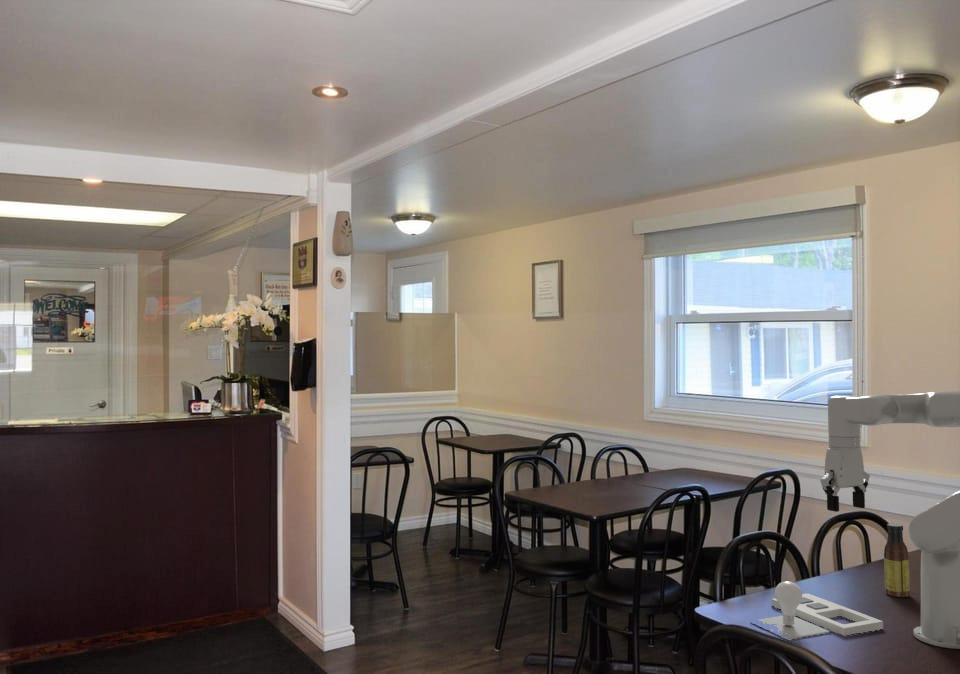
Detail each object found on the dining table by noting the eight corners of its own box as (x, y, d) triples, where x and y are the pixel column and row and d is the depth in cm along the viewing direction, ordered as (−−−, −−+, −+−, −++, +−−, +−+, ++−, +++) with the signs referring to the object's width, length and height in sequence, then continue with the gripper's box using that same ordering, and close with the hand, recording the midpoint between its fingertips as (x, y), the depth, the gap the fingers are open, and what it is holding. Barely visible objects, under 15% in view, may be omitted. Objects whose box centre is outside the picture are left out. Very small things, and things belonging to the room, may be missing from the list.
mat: (829, 633, 192) (829, 631, 192) (788, 640, 187) (788, 638, 187) (789, 616, 204) (789, 614, 204) (750, 622, 199) (750, 620, 199)
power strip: (882, 629, 195) (882, 618, 195) (844, 636, 190) (844, 625, 190) (808, 600, 217) (808, 591, 217) (771, 606, 212) (771, 596, 212)
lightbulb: (780, 619, 200) (780, 576, 200) (805, 625, 196) (805, 581, 196) (771, 626, 195) (771, 581, 195) (797, 632, 191) (797, 587, 191)
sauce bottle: (904, 592, 225) (904, 522, 226) (913, 598, 219) (913, 527, 220) (880, 591, 226) (880, 521, 226) (889, 597, 220) (889, 526, 220)
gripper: (854, 440, 213) (856, 503, 212) (809, 443, 205) (810, 509, 204) (879, 442, 206) (881, 508, 205) (833, 446, 198) (835, 514, 198)
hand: (846, 509), depth 205 cm, fingers open, 9 cm apart
